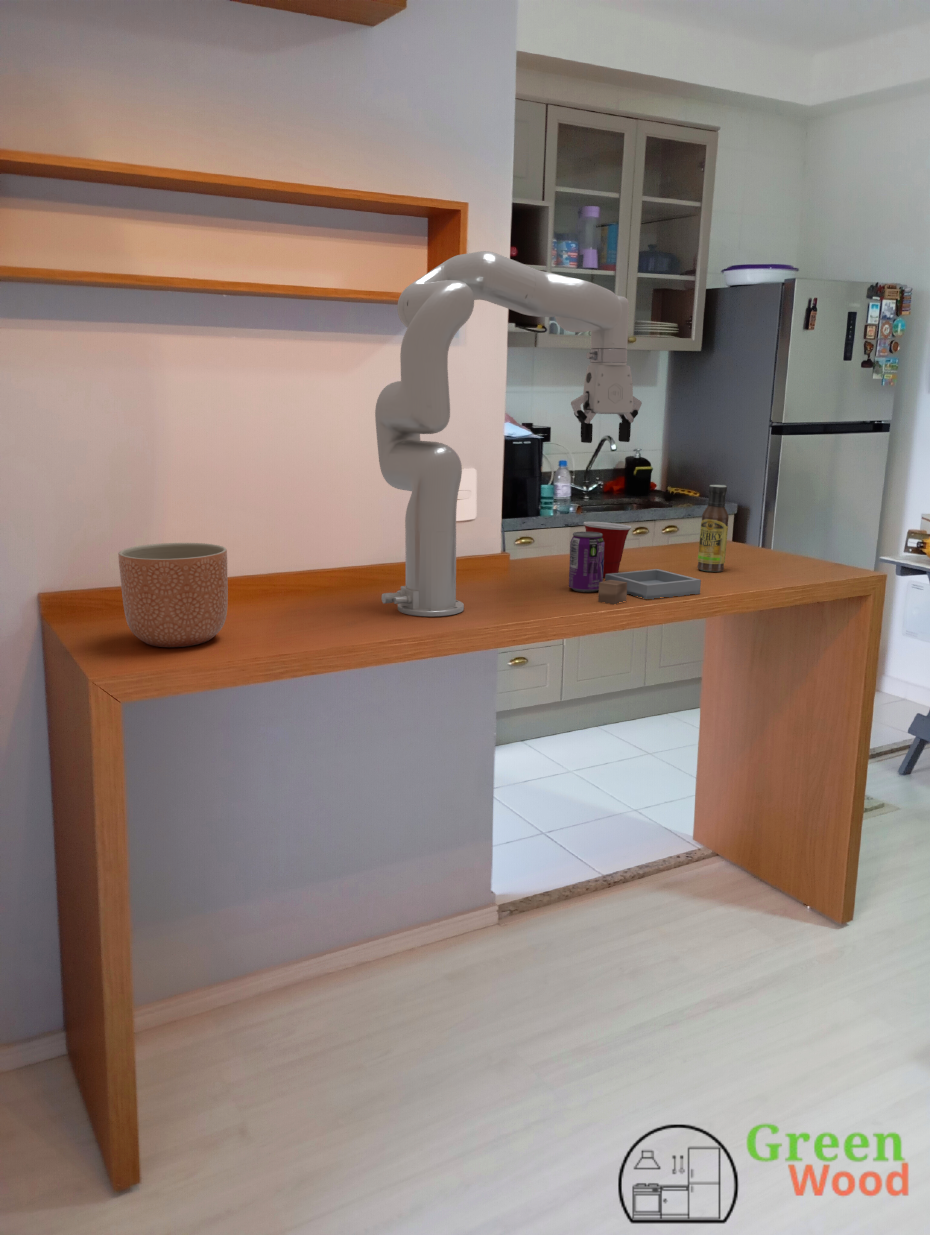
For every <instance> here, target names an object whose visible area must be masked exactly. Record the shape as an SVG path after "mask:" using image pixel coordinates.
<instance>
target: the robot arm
mask: <svg viewBox="0 0 930 1235" xmlns="http://www.w3.org/2000/svg"><path fill="white" fill-rule="evenodd" d="M475 301H485V302H489V303H490V304H494V305H497V306H500V307H503V308H505V309H509V310H511V311H513V312H516V313H519V314H522V315H526V316H531V317H539V318H555V321H556V323H557V324H558V326H559V327H560V328H561V329H563V331H566V332H570V333H586V332H590V333H591V334H590V351H588V352H586V355H585V356H586V359H587V360H588V359H589V362H590V364H588V365H587V368H586V372H585V375H584V376H585V377H584V383H583V384H584V385H583V391H582V394H581V395H580V396H578V397H576V398H575V399H573V400H572V401H571V402H570V405H571V408H572V411H573V414H574V416H575V417H576V419H577V421H578V423H579V424H580V442H581V443H584V444H592V443H593V429H594V428H593V423H591V422H592V420H593V419H594V417H595V416H596V415H597V414H598V415H617V416H618V418H619V419H620V422H619V424H618V441H619V443H620V442H621V443H622V442H624V443H629V442H630V441H631V432H632V431H631V430H632V428H631V427H632V425H631V424H632V423H633V422H634V419H635V418H636V417H637V416H638V415H639V410H640V409H641V406H642V400H640V399H638V398H637V397H635V396H634V390H633V378H632V370H631V366H630V365H627V362H628V338H629V317H630V316H629V315H630V313H629V312H630V303H629V299H627V297H625V296H623V295H622V296H621V295H616V293H615V292H613V291H612V290H610V289H608V288H606V287H603V286H602V285H599V284H596V283H593V282H590V281H588V280H583V279H580V278H574V277H570V276H565V275H561V274H558V273H554V272H547V271H543V270H539V269H536V268H535V267H531V266H529V265H527V264H524V263H522V262H519V261H518V260H514V259H511V258H509V257H507V256H504V255H502V254H498V253H496V252H493V251H489V250H488V251H486V250H485V251H484V250H483V251H475V252H468V253H463V254H458V255H457V254H456V255H455V256H453V257H452V256H451V257H450V258H448V259H447V260H445V261H444V262H442V263H441V264H439V265H437V266H436V267H434V268H433V269H431V270H430V271H429V272H427V273H426V274H424V275H423V276H421V277H419V278H417V279H416V280H414V281H413V282H412V283H410V284H409V285H408V286H406V288H404V290H403V291H401V294H400V296H399V298H398V300H397V314H398V318H399V320H400V321H401V323H402V325H404V326H405V327H406V328H407V329H406V330H405V332H404V335H403V338H402V342H401V345H400V354H399V355H400V356H399V359H400V360H399V362H400V380H397V381H394V382H391V383H389V384H387V385H386V386H384V388H383V389H382V390H381V391H380V393H379V395H378V397H377V399H376V402H375V410H374V413H375V414H374V418H375V419H374V420H375V431H376V441H377V442H376V444H377V454H378V462H379V469H380V472H381V475H382V478H383V479H384V481H385V482H386V483H387V484H388V486H390V487H392V488H395V489H397V490H401V491H402V490H403V491H406V492H407V491H408V492H411V494H410V497H409V501H408V503H407V506H406V510H405V517H404V524H405V525H404V526H405V527H404V528H405V530H404V531H405V534H404V536H405V537H404V539H405V585H401V586H400V589H399V590H397V591H396V592H385V593H382V594H381V602H382V604H384V605H385V604H392V603H393V604H395V605H397V610H398V611H399V613H402V614H405V615H408V616H416V617H417V616H418V617H446V616H452V615H456V614H457V615H458V614H460V613H462V612H464V610H465V604H464V603H463V602H462V601H460V600H458V599H457V596H456V595H457V582H456V581H457V507H458V497H459V491H460V485H461V481H462V474H463V469H462V466H463V465H462V462H461V458H460V457H459V455H458V453H457V452H456V450H455V449H453V448H452V447H451V446H450V445H448V444H445V443H443V442H438V441H432V440H431V441H428V440H421V435H433V434H438V433H440V432H443V430H444V429H446V428H447V427H448V424H449V422H450V418H451V402H450V401H451V399H450V386H449V384H450V382H449V369H448V368H449V366H448V364H449V362H448V361H449V360H448V357H449V349H450V346H451V343H452V342H453V339H454V337H455V335H457V334H458V331H459V330H460V329H461V328H463V326H464V325H465V324H466V323H467V322H468V321H469V319H470V317H471V315H472V313H473V311H474V306H475ZM582 409H583V410H582Z"/></svg>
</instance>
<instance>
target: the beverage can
mask: <svg viewBox="0 0 930 1235" xmlns="http://www.w3.org/2000/svg"><path fill="white" fill-rule="evenodd" d="M569 542H570V543H569V544H570V545H569V570H568V572H569V574H568V587H569V588H570V589H572V590H573V591H575V592H579V593H596V592H599V582H603V581H604V577H603V568H604V540H603V538H602V533H598V532H586V531H575V532H572V538H571V540H570V541H569Z"/></svg>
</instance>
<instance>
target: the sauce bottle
mask: <svg viewBox="0 0 930 1235" xmlns="http://www.w3.org/2000/svg"><path fill="white" fill-rule="evenodd" d="M727 493H728V486H727V485H725V484H710V485H709V486H708V501H707V507H706V508H705V509H704V510H703V512H702V515H701V522H700V528H699V531H700V532H699V542H698V543H699V544H698V552H697V562H698V563H697V569H699V570H700V571H704V572H709V573H710V572H711V573H721V572H723V571H724V570H725V566H724V565H725V563H726V562H725V561H726V553H727V544H728V542H727V541H728V534H729V531H728V530H729V517H730V516H729V512H728V511H727V509H726V494H727Z"/></svg>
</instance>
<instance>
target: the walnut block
mask: <svg viewBox="0 0 930 1235" xmlns="http://www.w3.org/2000/svg"><path fill="white" fill-rule="evenodd" d="M597 599H598V600H597V602H598V603H602V602H605V603H604V604H608V603H610V604H609V605H614V604H616V605H618V604H617V603H619V602H623V601H626V602H627V582H621V581H615V580H607V581H604V580H603V582H599V590H598V597H597ZM623 603H624V602H623Z"/></svg>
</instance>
